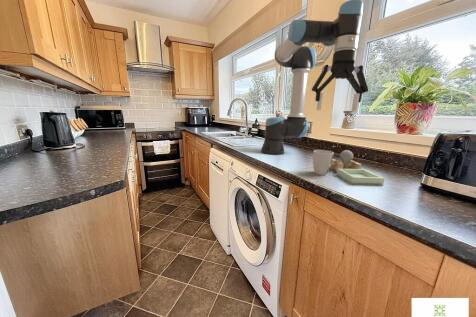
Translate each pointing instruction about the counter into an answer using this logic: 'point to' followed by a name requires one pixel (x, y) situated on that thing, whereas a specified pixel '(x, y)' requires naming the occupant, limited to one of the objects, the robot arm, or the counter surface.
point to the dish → (360, 177)
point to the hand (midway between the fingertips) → (336, 110)
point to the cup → (322, 161)
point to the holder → (339, 165)
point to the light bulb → (346, 157)
